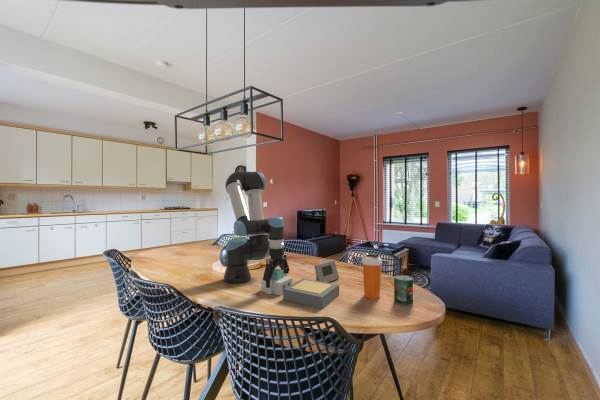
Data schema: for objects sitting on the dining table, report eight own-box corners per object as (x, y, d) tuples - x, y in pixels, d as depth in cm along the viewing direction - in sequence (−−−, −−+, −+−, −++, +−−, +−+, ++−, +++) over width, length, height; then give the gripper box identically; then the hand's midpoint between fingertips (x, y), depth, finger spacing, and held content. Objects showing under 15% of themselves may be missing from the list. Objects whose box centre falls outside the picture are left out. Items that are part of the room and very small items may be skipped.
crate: (269, 279, 136) (269, 271, 136) (275, 276, 140) (275, 268, 140) (277, 280, 133) (277, 272, 133) (283, 277, 138) (283, 270, 138)
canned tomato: (392, 298, 124) (392, 274, 124) (410, 298, 123) (410, 274, 123) (396, 305, 116) (396, 280, 116) (415, 306, 115) (415, 280, 115)
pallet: (261, 291, 136) (261, 279, 135) (273, 285, 144) (273, 274, 144) (281, 295, 129) (280, 283, 129) (292, 289, 138) (292, 277, 138)
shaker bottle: (378, 301, 121) (378, 256, 120) (359, 297, 126) (359, 254, 125) (384, 295, 128) (384, 253, 128) (365, 291, 133) (365, 251, 133)
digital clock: (319, 286, 142) (319, 266, 142) (310, 281, 150) (309, 262, 149) (343, 280, 151) (343, 261, 150) (332, 276, 158) (332, 258, 158)
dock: (283, 299, 124) (283, 288, 124) (303, 287, 139) (302, 277, 139) (322, 308, 114) (322, 296, 114) (339, 295, 129) (339, 284, 129)
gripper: (267, 252, 124) (268, 299, 124) (295, 244, 145) (296, 283, 145) (254, 251, 128) (255, 296, 128) (284, 242, 149) (284, 281, 149)
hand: (277, 289), depth 137 cm, fingers open, 12 cm apart
